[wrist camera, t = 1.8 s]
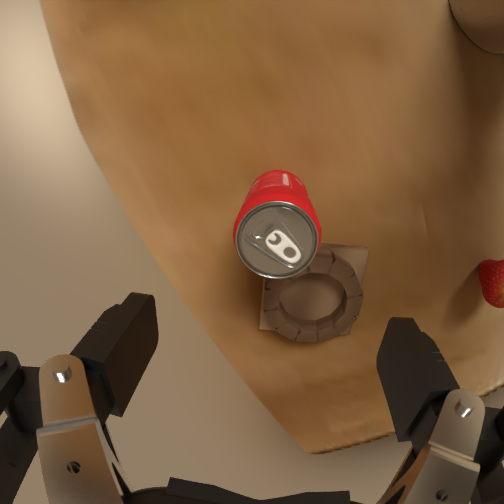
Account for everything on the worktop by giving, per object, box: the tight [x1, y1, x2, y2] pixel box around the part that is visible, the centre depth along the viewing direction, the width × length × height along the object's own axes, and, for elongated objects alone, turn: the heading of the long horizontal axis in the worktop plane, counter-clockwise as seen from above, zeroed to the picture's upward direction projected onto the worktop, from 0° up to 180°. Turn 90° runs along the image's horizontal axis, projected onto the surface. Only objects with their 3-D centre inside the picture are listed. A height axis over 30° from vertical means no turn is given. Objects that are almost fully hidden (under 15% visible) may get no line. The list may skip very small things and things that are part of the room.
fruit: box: [479, 259, 504, 308], centre depth 26 cm, size 5×5×8 cm
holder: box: [259, 243, 369, 343], centre depth 31 cm, size 10×10×3 cm
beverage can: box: [233, 170, 321, 279], centre depth 23 cm, size 5×5×12 cm
